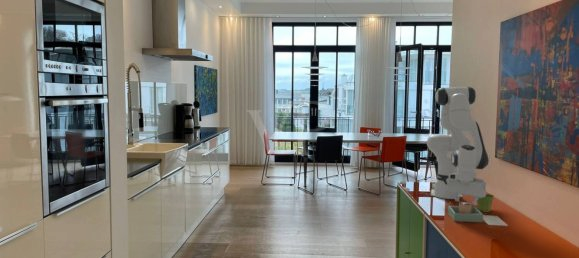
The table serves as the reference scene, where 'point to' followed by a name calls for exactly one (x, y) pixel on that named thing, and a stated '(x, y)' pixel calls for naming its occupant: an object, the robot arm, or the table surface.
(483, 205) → the plant pot
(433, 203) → the table surface
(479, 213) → the frame
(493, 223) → the mat
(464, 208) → the seedling pot
